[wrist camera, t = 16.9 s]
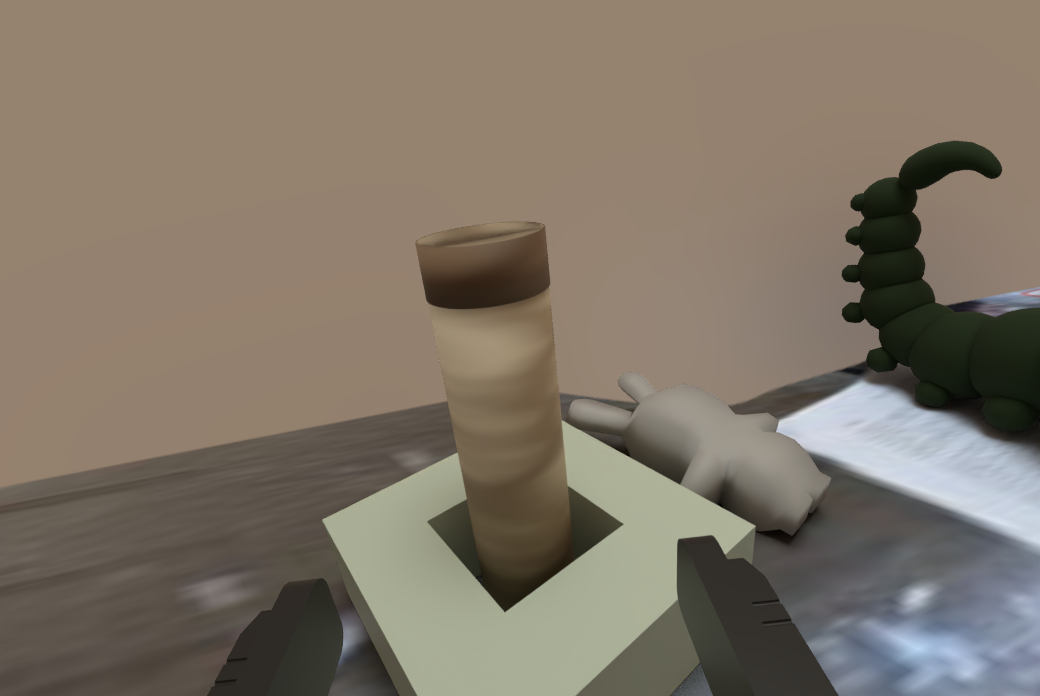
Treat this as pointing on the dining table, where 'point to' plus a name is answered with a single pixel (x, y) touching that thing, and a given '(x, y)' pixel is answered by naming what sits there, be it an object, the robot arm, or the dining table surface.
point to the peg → (503, 397)
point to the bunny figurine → (712, 451)
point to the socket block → (550, 608)
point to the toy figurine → (928, 325)
